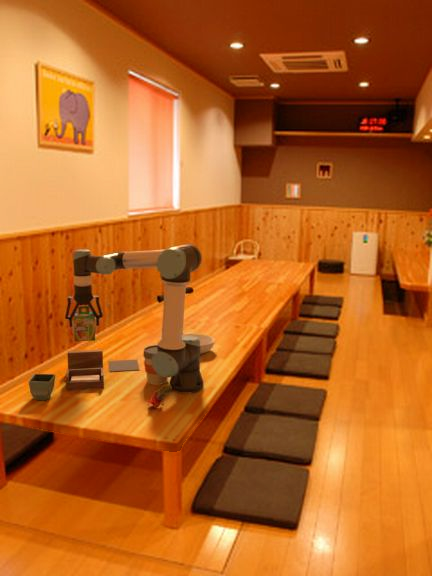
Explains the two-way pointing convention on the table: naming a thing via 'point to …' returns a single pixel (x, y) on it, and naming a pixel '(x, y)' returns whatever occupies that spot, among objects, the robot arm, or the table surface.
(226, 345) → the table surface
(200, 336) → the serving bowl
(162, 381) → the reusable coffee cup
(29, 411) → the table surface
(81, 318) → the chalk box
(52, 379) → the flower pot
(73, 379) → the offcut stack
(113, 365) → the rubber mat
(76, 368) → the walnut rack
